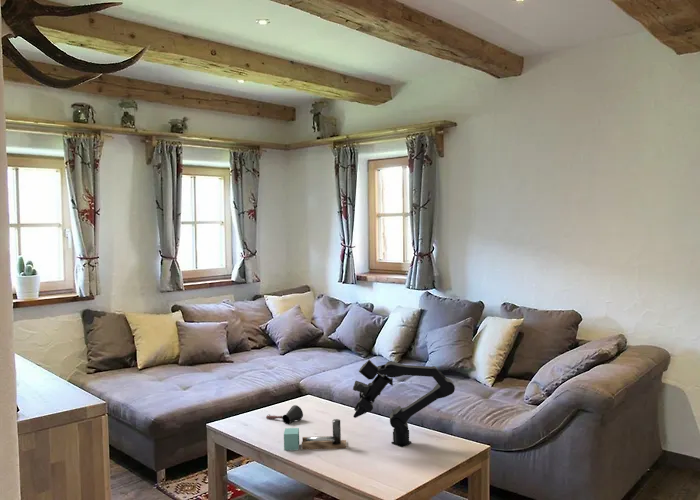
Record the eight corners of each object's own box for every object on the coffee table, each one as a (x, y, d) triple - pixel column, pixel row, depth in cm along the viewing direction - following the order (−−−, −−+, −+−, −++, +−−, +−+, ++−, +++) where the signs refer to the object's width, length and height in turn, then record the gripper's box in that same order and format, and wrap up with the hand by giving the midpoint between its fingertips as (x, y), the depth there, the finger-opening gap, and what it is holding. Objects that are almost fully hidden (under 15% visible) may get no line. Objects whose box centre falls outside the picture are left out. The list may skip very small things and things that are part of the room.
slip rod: (340, 441, 251) (340, 419, 251) (340, 444, 248) (340, 421, 248) (307, 442, 251) (306, 420, 251) (306, 445, 248) (306, 422, 247)
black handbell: (305, 419, 283) (293, 427, 276) (278, 417, 294) (267, 425, 287) (301, 405, 282) (290, 412, 275) (275, 403, 293) (263, 411, 286)
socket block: (299, 443, 253) (298, 427, 253) (298, 449, 246) (297, 433, 246) (285, 444, 253) (285, 428, 252) (284, 450, 246) (283, 434, 245)
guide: (346, 442, 253) (345, 435, 253) (346, 448, 246) (346, 441, 246) (302, 443, 253) (302, 436, 253) (301, 449, 246) (301, 442, 246)
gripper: (363, 369, 259) (341, 395, 260) (361, 380, 241) (338, 409, 242) (382, 384, 259) (360, 411, 260) (382, 397, 240) (359, 425, 241)
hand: (354, 413), depth 251 cm, fingers open, 9 cm apart
